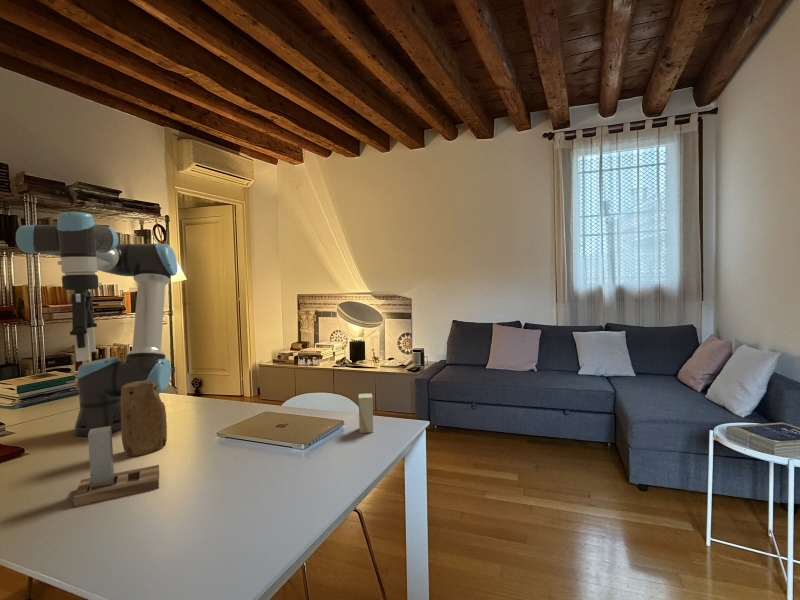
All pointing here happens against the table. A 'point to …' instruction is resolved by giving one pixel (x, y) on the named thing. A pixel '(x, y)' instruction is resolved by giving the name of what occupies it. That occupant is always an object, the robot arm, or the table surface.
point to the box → (365, 413)
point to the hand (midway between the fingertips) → (86, 356)
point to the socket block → (119, 485)
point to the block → (142, 418)
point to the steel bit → (101, 457)
